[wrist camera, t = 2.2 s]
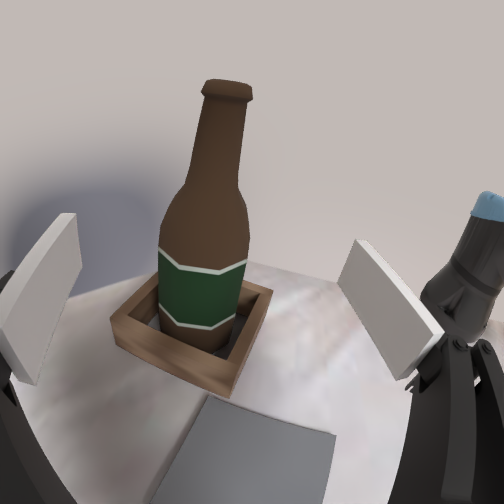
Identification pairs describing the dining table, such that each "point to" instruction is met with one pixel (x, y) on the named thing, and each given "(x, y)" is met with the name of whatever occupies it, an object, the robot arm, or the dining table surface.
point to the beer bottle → (207, 227)
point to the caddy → (183, 355)
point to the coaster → (247, 461)
